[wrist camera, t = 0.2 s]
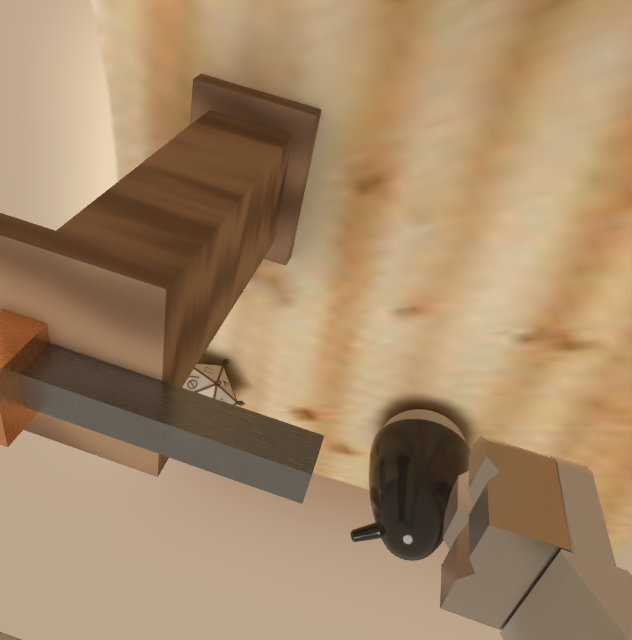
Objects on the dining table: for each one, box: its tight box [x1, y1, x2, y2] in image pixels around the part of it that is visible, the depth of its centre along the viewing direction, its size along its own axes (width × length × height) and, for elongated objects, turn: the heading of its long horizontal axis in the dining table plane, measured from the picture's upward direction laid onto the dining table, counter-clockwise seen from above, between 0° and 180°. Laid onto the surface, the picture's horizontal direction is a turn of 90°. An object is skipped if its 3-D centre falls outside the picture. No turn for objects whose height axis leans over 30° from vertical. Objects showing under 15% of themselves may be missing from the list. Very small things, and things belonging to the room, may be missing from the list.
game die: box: [182, 359, 245, 405], centre depth 63 cm, size 9×8×10 cm
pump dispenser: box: [351, 409, 470, 561], centre depth 57 cm, size 10×10×15 cm
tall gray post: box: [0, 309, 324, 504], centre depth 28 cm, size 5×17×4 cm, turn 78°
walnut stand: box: [0, 74, 321, 477], centre depth 40 cm, size 14×10×26 cm
